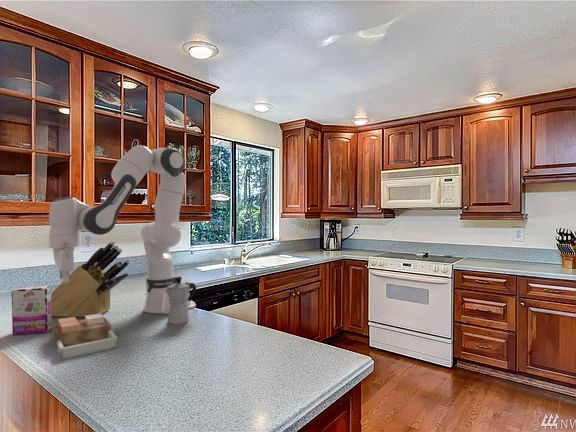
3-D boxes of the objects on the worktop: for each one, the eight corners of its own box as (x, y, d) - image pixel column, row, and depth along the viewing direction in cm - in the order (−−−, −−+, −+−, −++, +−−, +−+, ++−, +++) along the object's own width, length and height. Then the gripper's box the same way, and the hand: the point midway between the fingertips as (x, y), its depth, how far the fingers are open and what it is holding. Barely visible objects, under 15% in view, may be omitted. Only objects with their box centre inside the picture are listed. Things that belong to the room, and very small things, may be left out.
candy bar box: (52, 328, 136) (52, 285, 136) (47, 333, 131) (47, 288, 131) (17, 330, 133) (17, 286, 133) (11, 335, 128) (10, 289, 128)
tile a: (100, 318, 132) (100, 313, 132) (103, 322, 128) (103, 316, 128) (85, 321, 129) (85, 316, 129) (87, 325, 125) (87, 319, 125)
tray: (111, 339, 126) (111, 330, 126) (117, 347, 119) (117, 337, 118) (57, 350, 116) (56, 340, 116) (60, 359, 109) (60, 349, 109)
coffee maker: (171, 327, 138) (171, 280, 137) (158, 323, 143) (158, 277, 143) (202, 318, 150) (202, 275, 149) (189, 314, 155) (189, 272, 154)
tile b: (74, 322, 128) (74, 316, 128) (77, 325, 124) (77, 320, 124) (58, 324, 125) (58, 319, 125) (59, 328, 121) (59, 322, 121)
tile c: (77, 326, 124) (77, 320, 124) (79, 330, 120) (79, 324, 120) (60, 329, 121) (60, 323, 121) (62, 333, 117) (62, 327, 117)
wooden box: (103, 329, 135) (103, 316, 135) (111, 339, 126) (111, 324, 125) (52, 339, 125) (52, 325, 125) (57, 350, 116) (56, 334, 116)
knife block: (118, 318, 148) (118, 243, 147) (34, 317, 149) (33, 242, 148) (131, 310, 159) (131, 240, 158) (52, 309, 160) (52, 240, 159)
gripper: (78, 244, 124) (78, 284, 124) (69, 239, 140) (70, 275, 140) (57, 245, 120) (57, 286, 120) (50, 240, 136) (50, 276, 136)
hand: (64, 280), depth 130 cm, fingers open, 7 cm apart
